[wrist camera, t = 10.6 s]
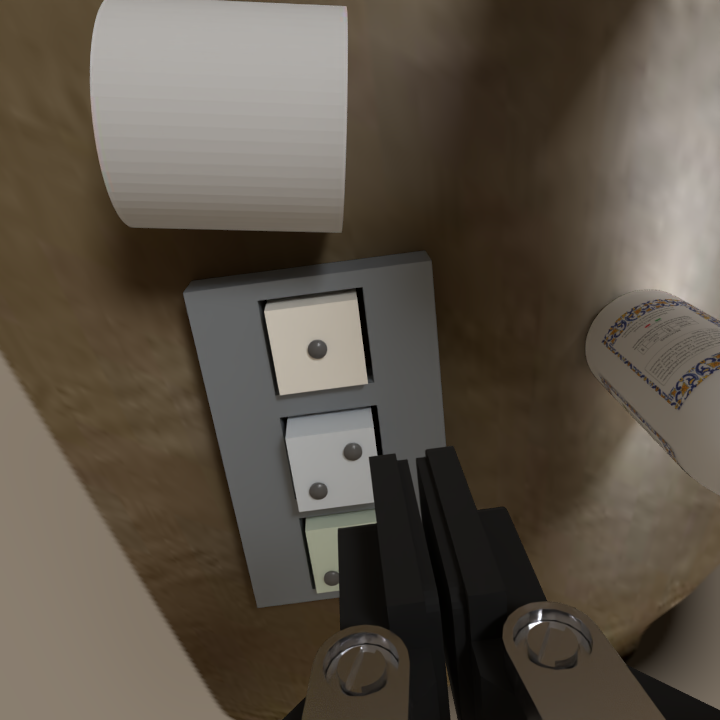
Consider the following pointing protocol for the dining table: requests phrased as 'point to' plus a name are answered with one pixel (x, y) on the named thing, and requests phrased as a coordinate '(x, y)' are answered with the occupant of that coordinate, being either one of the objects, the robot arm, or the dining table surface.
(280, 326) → the tile one
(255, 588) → the board
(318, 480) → the tile two
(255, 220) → the toilet paper
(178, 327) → the dining table surface
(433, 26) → the dining table surface
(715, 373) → the bath foam
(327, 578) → the tile three
